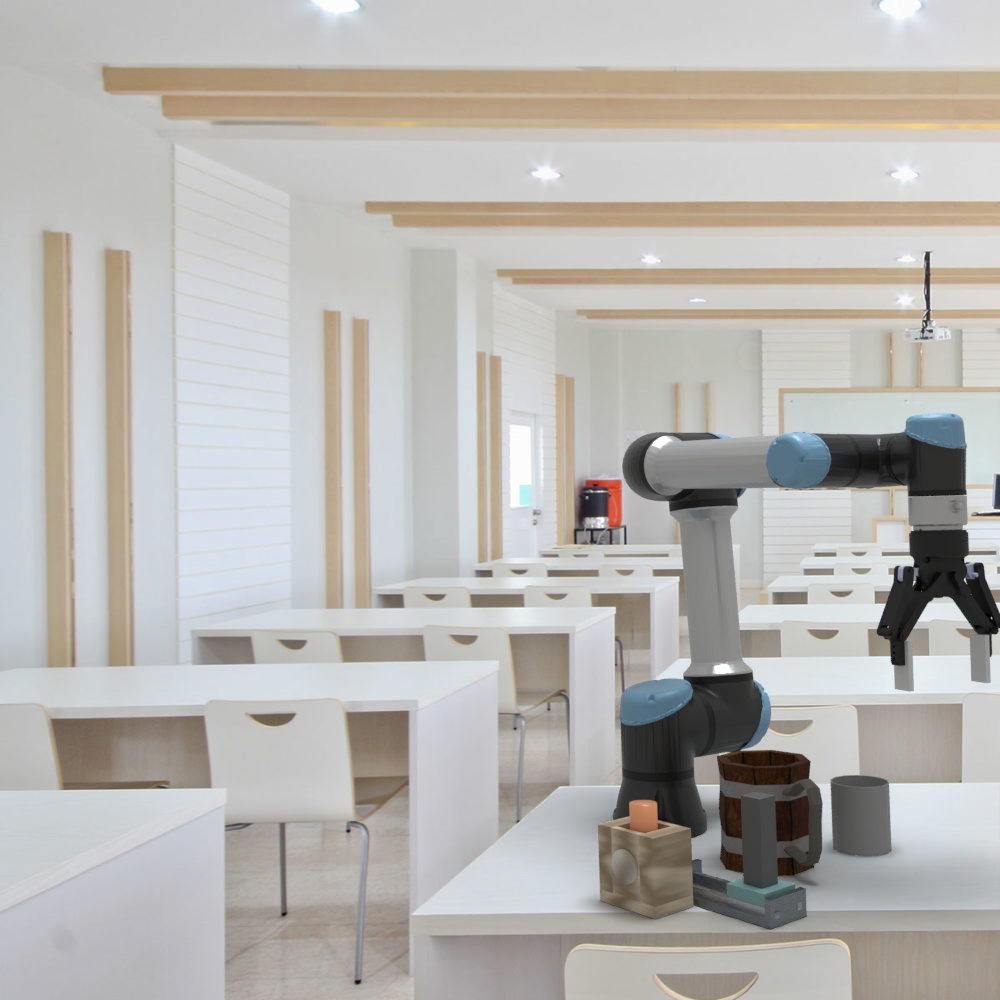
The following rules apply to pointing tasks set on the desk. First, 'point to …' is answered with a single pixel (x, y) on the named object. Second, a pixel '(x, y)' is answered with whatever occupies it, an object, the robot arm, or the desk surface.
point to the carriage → (758, 852)
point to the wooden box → (645, 868)
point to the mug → (792, 803)
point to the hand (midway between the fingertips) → (943, 686)
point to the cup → (861, 815)
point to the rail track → (774, 914)
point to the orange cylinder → (643, 816)
